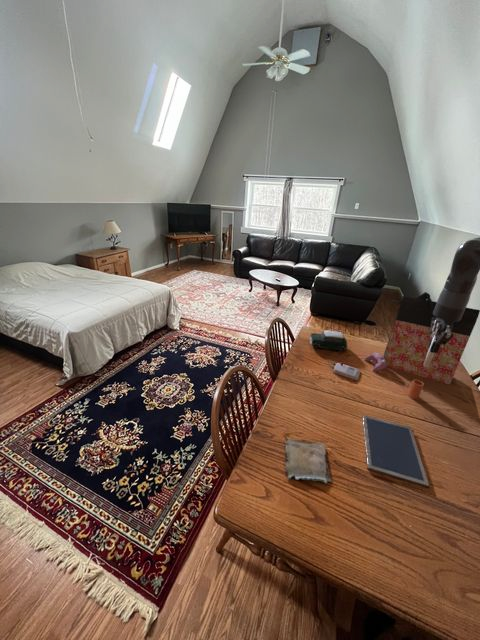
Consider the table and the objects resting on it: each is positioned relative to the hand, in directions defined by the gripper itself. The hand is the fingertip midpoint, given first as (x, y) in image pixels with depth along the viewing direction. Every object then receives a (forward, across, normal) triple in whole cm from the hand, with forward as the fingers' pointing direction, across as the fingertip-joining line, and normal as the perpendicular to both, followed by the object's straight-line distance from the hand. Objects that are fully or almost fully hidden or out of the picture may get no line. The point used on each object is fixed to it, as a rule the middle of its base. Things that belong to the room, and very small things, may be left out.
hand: (432, 350), depth 92 cm
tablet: (+22, -27, +11) cm, 37 cm away
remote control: (+23, +10, +24) cm, 34 cm away
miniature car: (+23, +30, +32) cm, 49 cm away
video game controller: (+23, +19, +11) cm, 32 cm away
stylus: (+7, 0, 0) cm, 7 cm away
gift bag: (+23, +25, -4) cm, 34 cm away
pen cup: (+22, +2, -1) cm, 22 cm away
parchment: (+22, -40, +35) cm, 58 cm away
